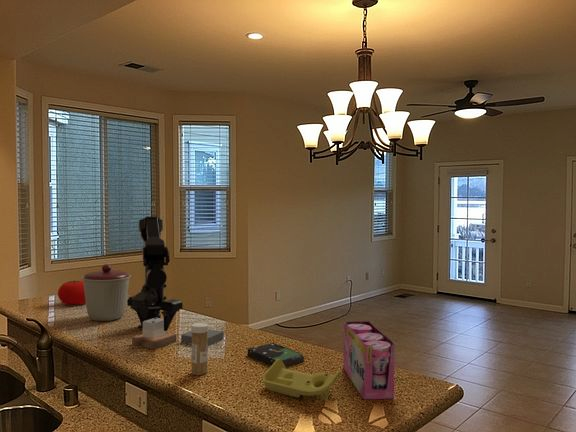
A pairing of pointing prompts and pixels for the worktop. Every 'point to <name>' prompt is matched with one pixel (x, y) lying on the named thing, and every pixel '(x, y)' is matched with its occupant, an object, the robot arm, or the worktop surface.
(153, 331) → the two-plate housing
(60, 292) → the tomato
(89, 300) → the canister
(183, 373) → the worktop surface
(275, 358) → the disk drive
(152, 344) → the brown square tray
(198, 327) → the sprinkles bottle
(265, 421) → the worktop surface
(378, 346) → the gum box
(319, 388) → the plastic component
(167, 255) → the robot arm
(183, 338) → the slate stand
